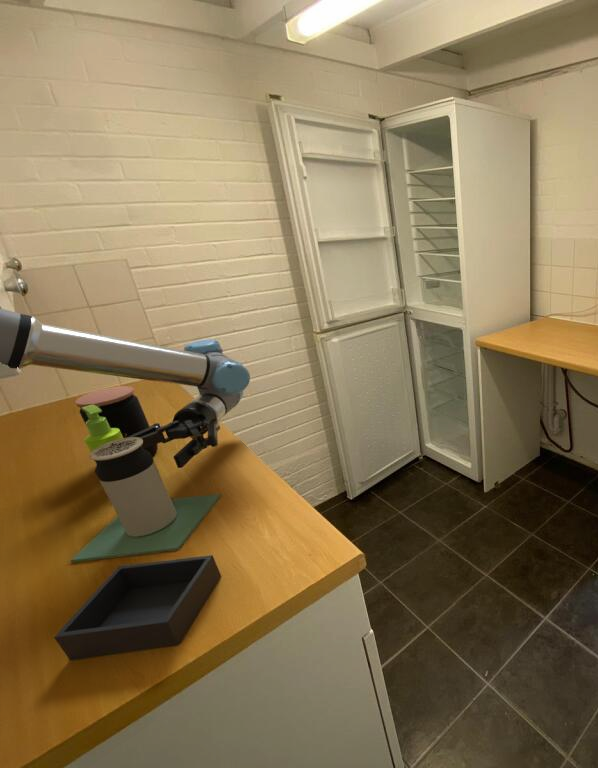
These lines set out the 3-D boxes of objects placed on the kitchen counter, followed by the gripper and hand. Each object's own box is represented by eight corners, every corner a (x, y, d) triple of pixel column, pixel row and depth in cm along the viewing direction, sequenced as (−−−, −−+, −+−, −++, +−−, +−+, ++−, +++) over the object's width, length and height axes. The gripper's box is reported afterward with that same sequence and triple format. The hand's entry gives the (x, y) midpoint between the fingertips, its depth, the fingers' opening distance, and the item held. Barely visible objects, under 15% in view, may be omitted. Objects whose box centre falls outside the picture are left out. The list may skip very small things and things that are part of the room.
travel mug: (181, 522, 84) (147, 445, 77) (130, 544, 79) (88, 464, 72) (173, 504, 89) (140, 431, 82) (124, 524, 84) (85, 448, 77)
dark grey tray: (69, 660, 59) (53, 637, 57) (130, 587, 70) (118, 566, 68) (179, 645, 61) (167, 622, 59) (221, 576, 72) (212, 554, 70)
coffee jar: (94, 468, 104) (61, 403, 97) (135, 445, 114) (108, 385, 106) (131, 470, 102) (101, 405, 95) (170, 447, 112) (144, 386, 105)
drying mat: (71, 562, 76) (69, 560, 76) (132, 505, 90) (131, 502, 90) (178, 550, 78) (177, 547, 78) (221, 495, 92) (220, 493, 92)
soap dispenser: (116, 494, 94) (76, 416, 86) (104, 485, 97) (65, 409, 89) (147, 481, 98) (112, 405, 90) (135, 472, 102) (101, 398, 94)
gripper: (258, 424, 104) (214, 474, 85) (149, 434, 101) (78, 488, 82) (249, 397, 101) (202, 443, 82) (137, 406, 98) (61, 455, 79)
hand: (140, 465), depth 82 cm, fingers open, 13 cm apart
